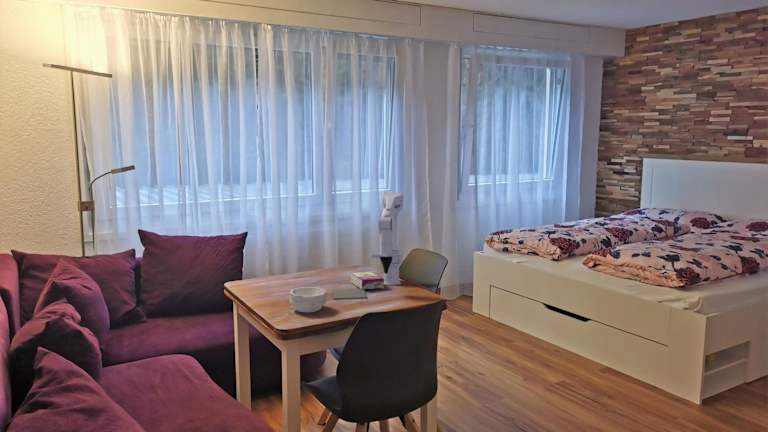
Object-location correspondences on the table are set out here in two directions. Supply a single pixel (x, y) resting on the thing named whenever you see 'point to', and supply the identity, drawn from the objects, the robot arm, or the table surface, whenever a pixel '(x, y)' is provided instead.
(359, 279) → the candy bar box
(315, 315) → the table surface
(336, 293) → the mat
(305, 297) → the paper bowls
